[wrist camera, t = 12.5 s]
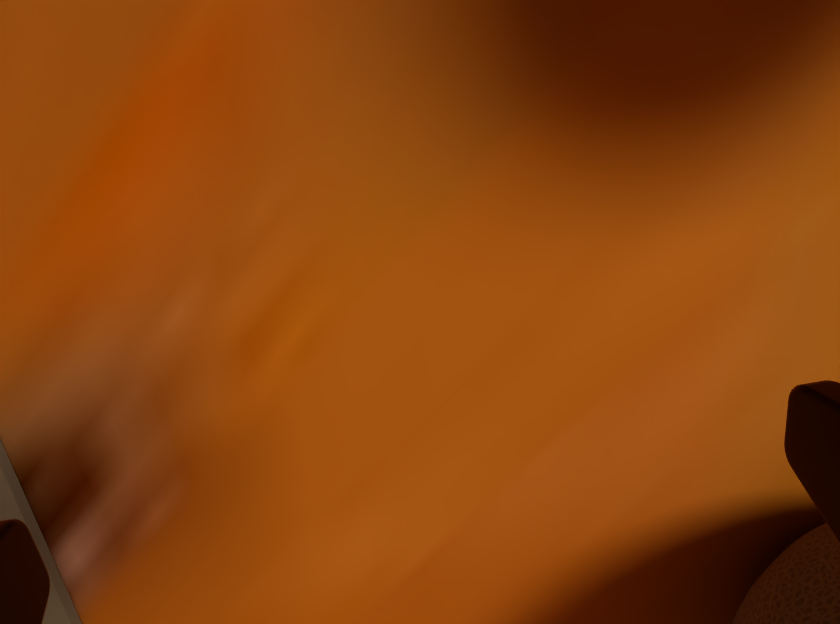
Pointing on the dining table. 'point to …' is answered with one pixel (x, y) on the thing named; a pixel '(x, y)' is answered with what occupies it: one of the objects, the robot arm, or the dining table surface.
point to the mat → (8, 501)
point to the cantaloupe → (797, 584)
